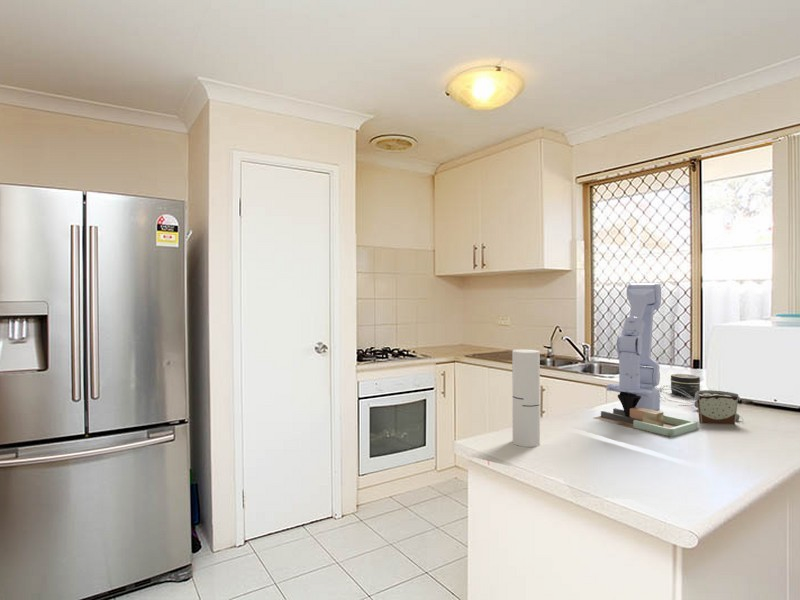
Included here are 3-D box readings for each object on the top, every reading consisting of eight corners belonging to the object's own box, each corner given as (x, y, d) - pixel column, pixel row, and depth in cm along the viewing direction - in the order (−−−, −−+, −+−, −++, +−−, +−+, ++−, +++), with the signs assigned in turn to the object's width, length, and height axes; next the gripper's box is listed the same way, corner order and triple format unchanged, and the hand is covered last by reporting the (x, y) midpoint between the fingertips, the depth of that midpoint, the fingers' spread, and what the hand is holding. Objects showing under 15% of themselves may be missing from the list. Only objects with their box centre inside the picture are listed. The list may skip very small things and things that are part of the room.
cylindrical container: (519, 437, 131) (519, 348, 130) (544, 442, 126) (543, 350, 126) (508, 443, 125) (507, 351, 125) (533, 448, 121) (533, 353, 120)
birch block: (650, 422, 141) (650, 409, 141) (663, 425, 138) (663, 412, 138) (642, 424, 139) (642, 411, 139) (655, 427, 136) (655, 414, 136)
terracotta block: (637, 419, 145) (637, 406, 145) (649, 422, 141) (649, 409, 141) (629, 421, 142) (629, 408, 142) (642, 424, 139) (642, 411, 139)
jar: (705, 395, 183) (705, 376, 183) (691, 398, 178) (691, 378, 178) (679, 391, 191) (679, 372, 191) (665, 394, 186) (665, 375, 186)
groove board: (622, 414, 155) (622, 406, 155) (699, 431, 135) (699, 423, 135) (592, 421, 147) (592, 413, 147) (669, 441, 126) (669, 432, 126)
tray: (659, 420, 144) (659, 413, 144) (697, 428, 134) (697, 422, 134) (633, 427, 136) (633, 420, 136) (671, 436, 127) (671, 429, 127)
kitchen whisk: (735, 424, 144) (735, 403, 143) (653, 400, 176) (653, 384, 176) (751, 423, 145) (751, 402, 145) (666, 399, 178) (666, 383, 178)
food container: (727, 421, 145) (727, 390, 145) (740, 427, 139) (740, 394, 139) (686, 421, 146) (686, 389, 146) (696, 426, 140) (696, 393, 140)
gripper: (600, 371, 149) (600, 413, 149) (644, 378, 136) (644, 424, 136) (614, 369, 152) (614, 410, 153) (657, 376, 140) (657, 421, 140)
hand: (629, 417), depth 145 cm, fingers closed
